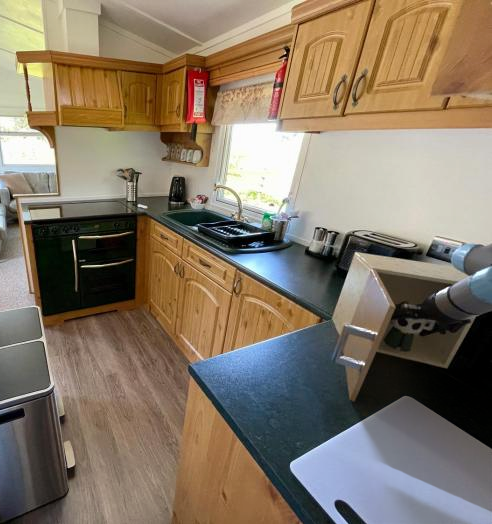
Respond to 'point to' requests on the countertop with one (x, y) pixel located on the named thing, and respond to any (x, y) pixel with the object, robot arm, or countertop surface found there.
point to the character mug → (405, 332)
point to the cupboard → (402, 289)
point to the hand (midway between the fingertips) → (398, 327)
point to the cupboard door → (364, 333)
